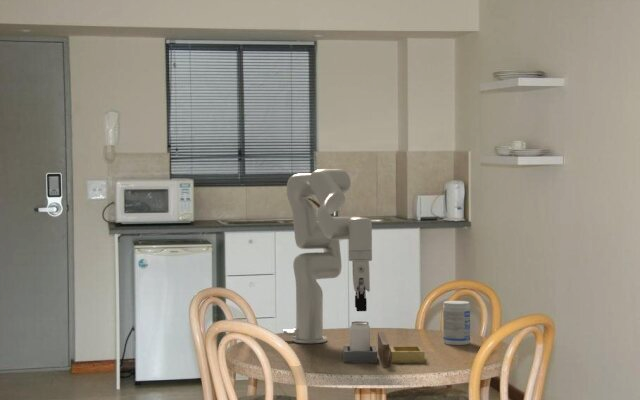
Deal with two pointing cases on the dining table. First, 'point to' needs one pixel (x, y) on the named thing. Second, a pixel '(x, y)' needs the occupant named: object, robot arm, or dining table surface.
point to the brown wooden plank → (383, 349)
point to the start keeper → (360, 355)
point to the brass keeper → (406, 354)
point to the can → (359, 336)
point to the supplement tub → (456, 322)
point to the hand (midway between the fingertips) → (360, 309)
